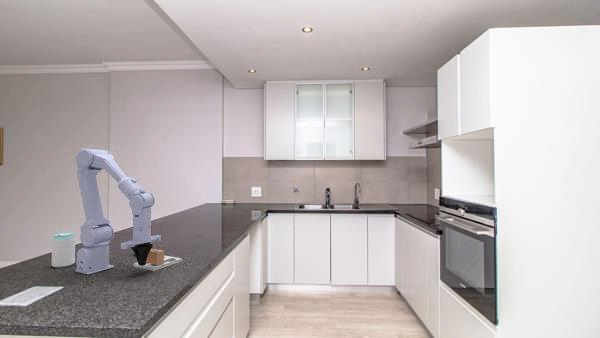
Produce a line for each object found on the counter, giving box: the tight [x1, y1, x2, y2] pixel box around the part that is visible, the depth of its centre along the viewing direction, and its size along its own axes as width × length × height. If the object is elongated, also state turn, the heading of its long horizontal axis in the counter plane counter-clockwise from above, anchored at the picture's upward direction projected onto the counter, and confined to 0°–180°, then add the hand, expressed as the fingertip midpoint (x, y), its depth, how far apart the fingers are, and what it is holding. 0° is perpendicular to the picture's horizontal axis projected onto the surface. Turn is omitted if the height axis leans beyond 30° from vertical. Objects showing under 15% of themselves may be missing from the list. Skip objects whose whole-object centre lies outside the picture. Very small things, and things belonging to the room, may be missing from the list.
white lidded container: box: [51, 232, 76, 269], centre depth 118 cm, size 7×7×12 cm
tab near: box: [150, 249, 165, 265], centre depth 116 cm, size 3×4×5 cm
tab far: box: [146, 248, 155, 263], centre depth 118 cm, size 3×4×5 cm
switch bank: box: [133, 255, 183, 272], centre depth 120 cm, size 13×11×1 cm
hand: (141, 265), depth 110 cm, fingers closed
